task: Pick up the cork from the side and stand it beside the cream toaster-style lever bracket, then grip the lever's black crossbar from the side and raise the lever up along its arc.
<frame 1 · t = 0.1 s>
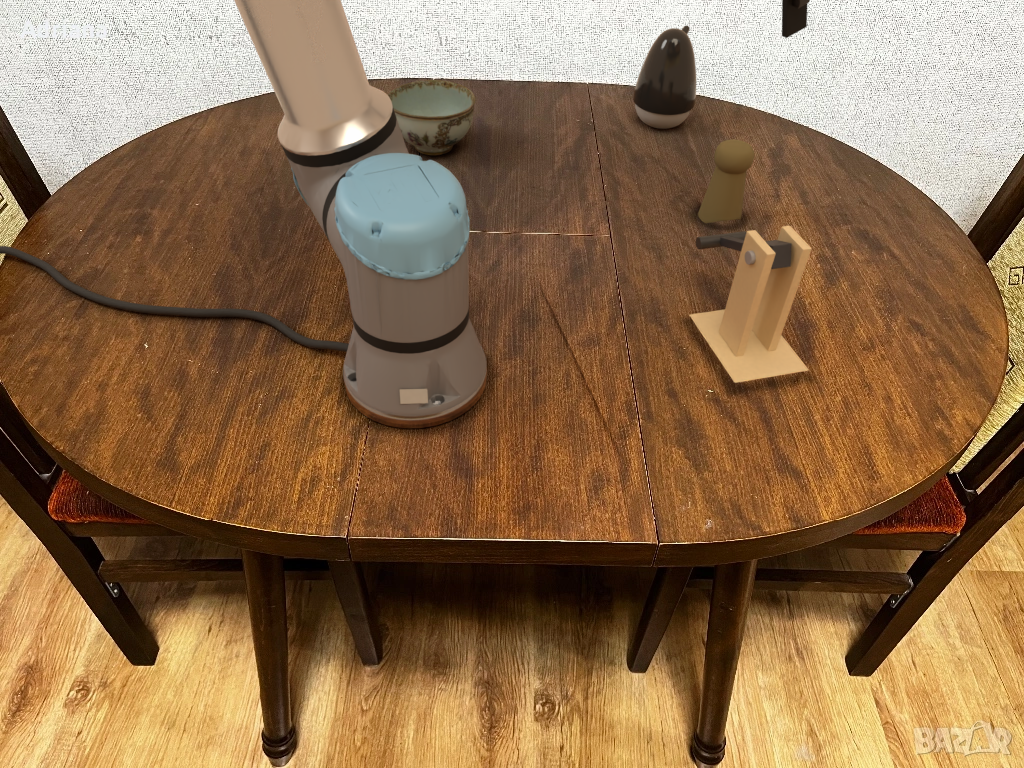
hand: (754, 12, 89), 28 cm above the table, tool tilted 20°, fingers open, 13 cm apart
lever: (748, 247, 84), point 11 cm above the table, hinge at -25.0°
cork: (719, 217, 109), on the table
bracket: (744, 349, 88), on the table
brown white egg shape: (660, 123, 130), on the table
bowl: (433, 147, 122), on the table
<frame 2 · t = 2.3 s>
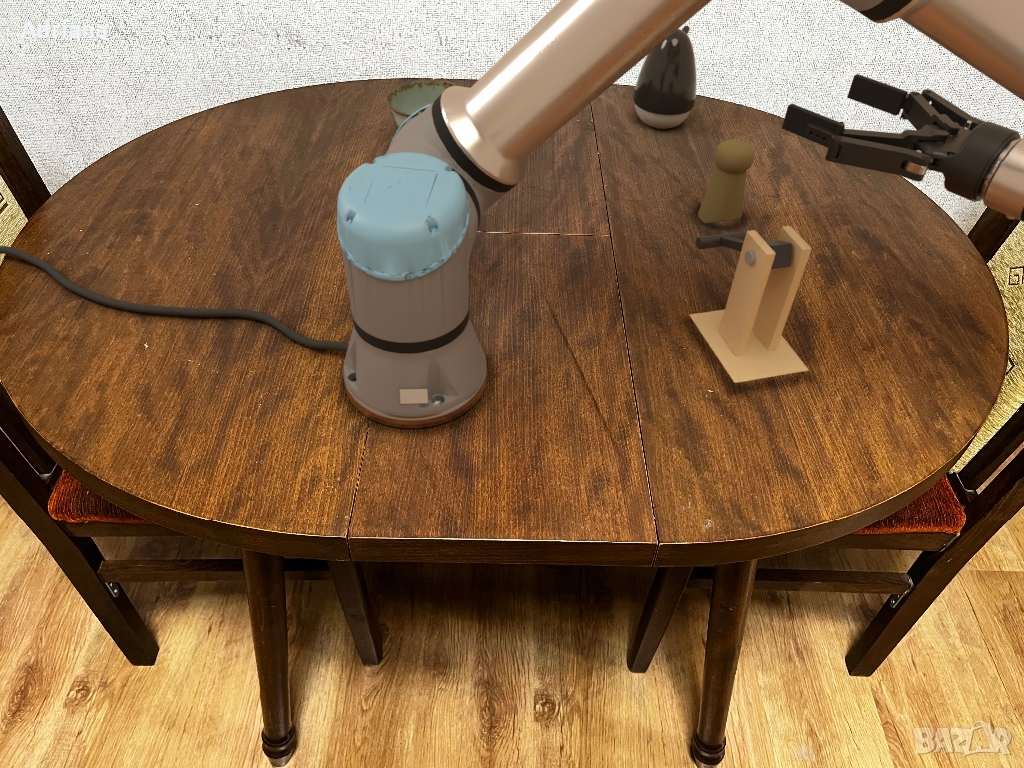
hand: (820, 100, 90), 20 cm above the table, tool horizontal, fingers open, 13 cm apart
nothing on the table moved.
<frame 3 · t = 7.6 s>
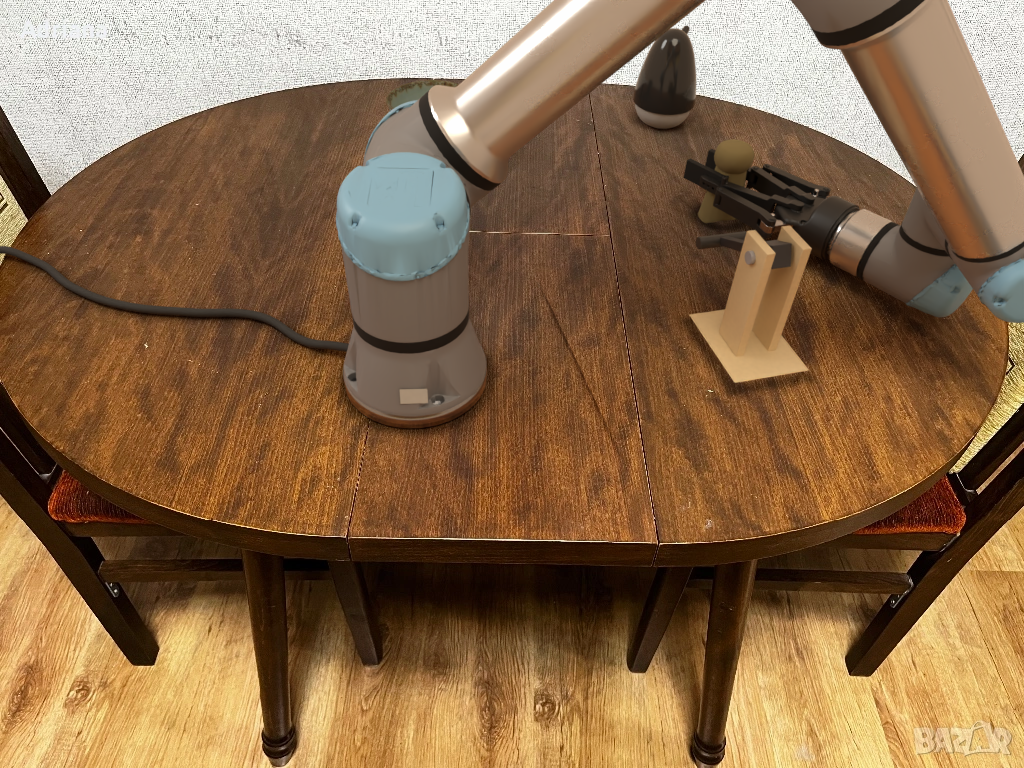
hand: (697, 163, 107), 6 cm above the table, tool horizontal, fingers closed on cork, 4 cm apart
cork: (719, 217, 109), on the table, touching gripper
everything else where it was.
when the fingers open (6 cm above the table, at t = 15.9 s): cork stays where it is, on the table.
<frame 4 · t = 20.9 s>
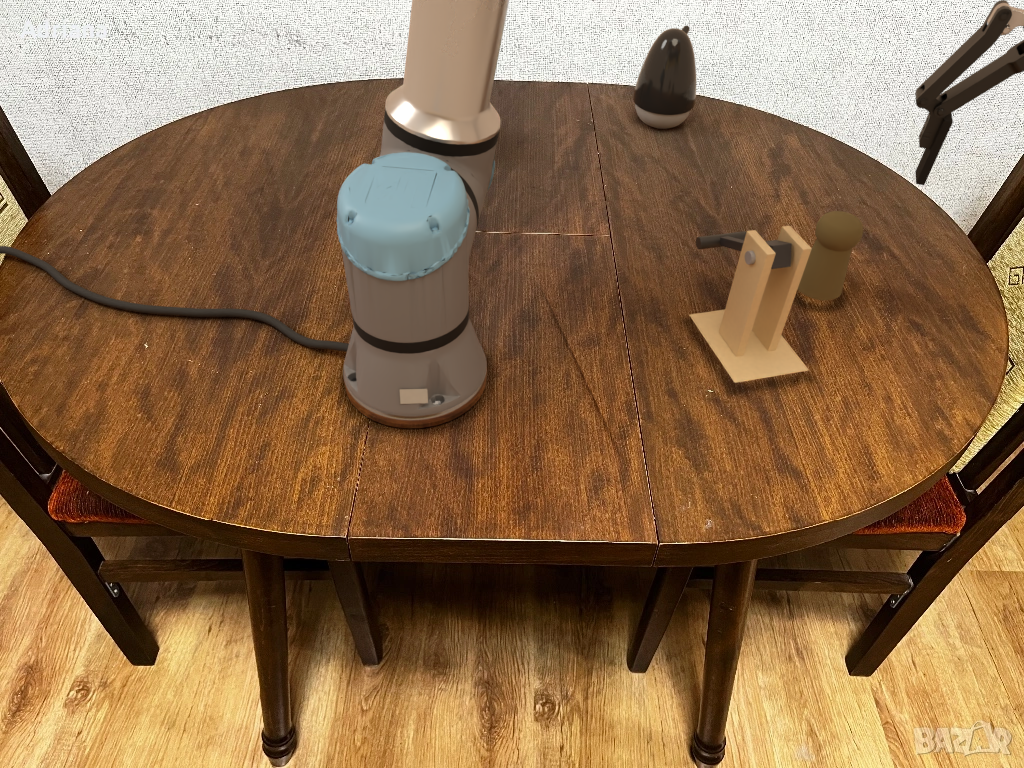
hand: (992, 192, 75), 20 cm above the table, tool pointing down, fingers open, 13 cm apart
cork: (814, 295, 96), on the table
everything else where it was.
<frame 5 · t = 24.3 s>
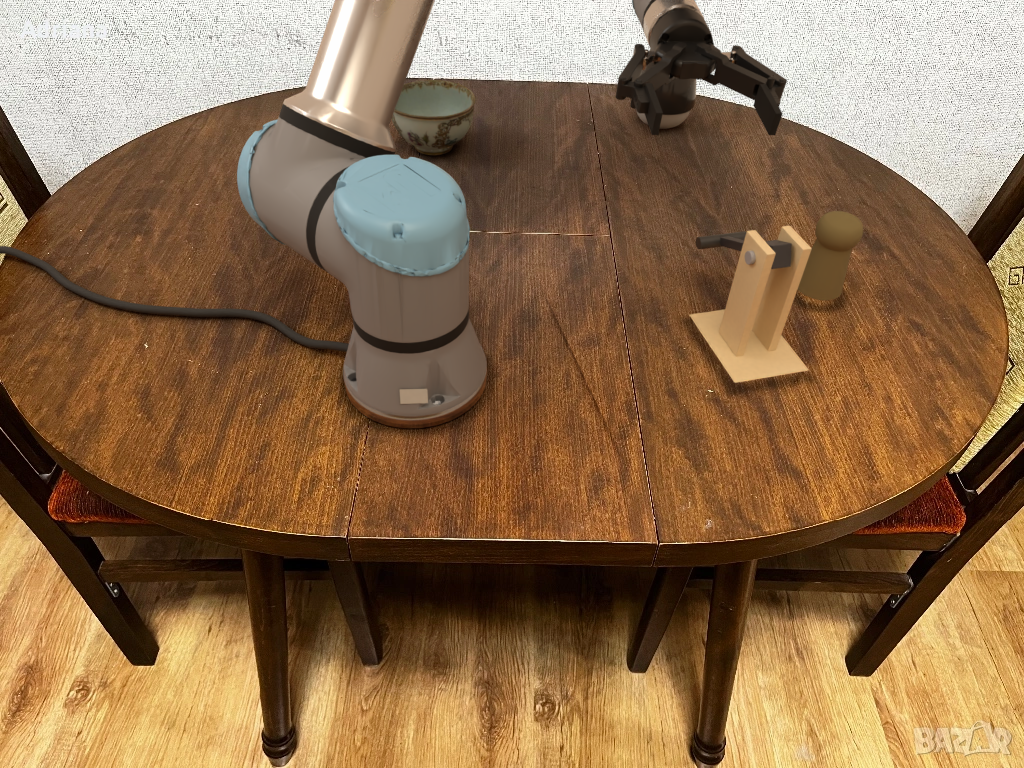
hand: (716, 124, 86), 20 cm above the table, tool horizontal, fingers open, 13 cm apart
nothing on the table moved.
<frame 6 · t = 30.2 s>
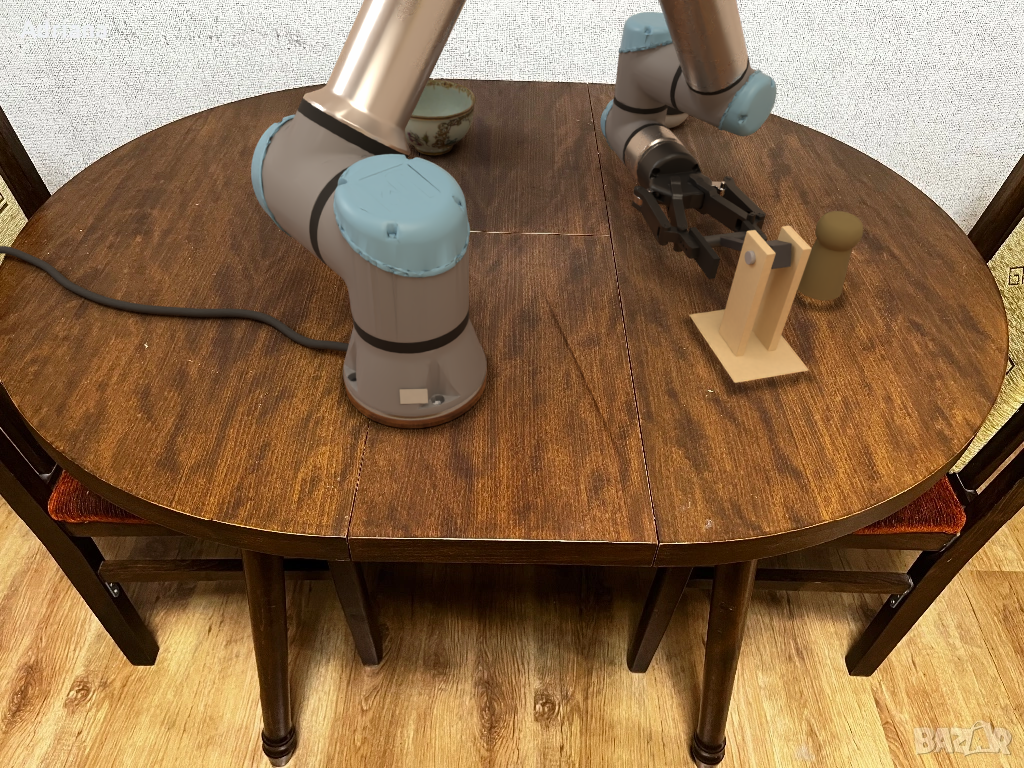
hand: (742, 265, 85), 8 cm above the table, tool horizontal, fingers closed on lever, 6 cm apart
lever: (748, 247, 84), point 11 cm above the table, hinge at -25.0°, touching gripper
everything else where it was.
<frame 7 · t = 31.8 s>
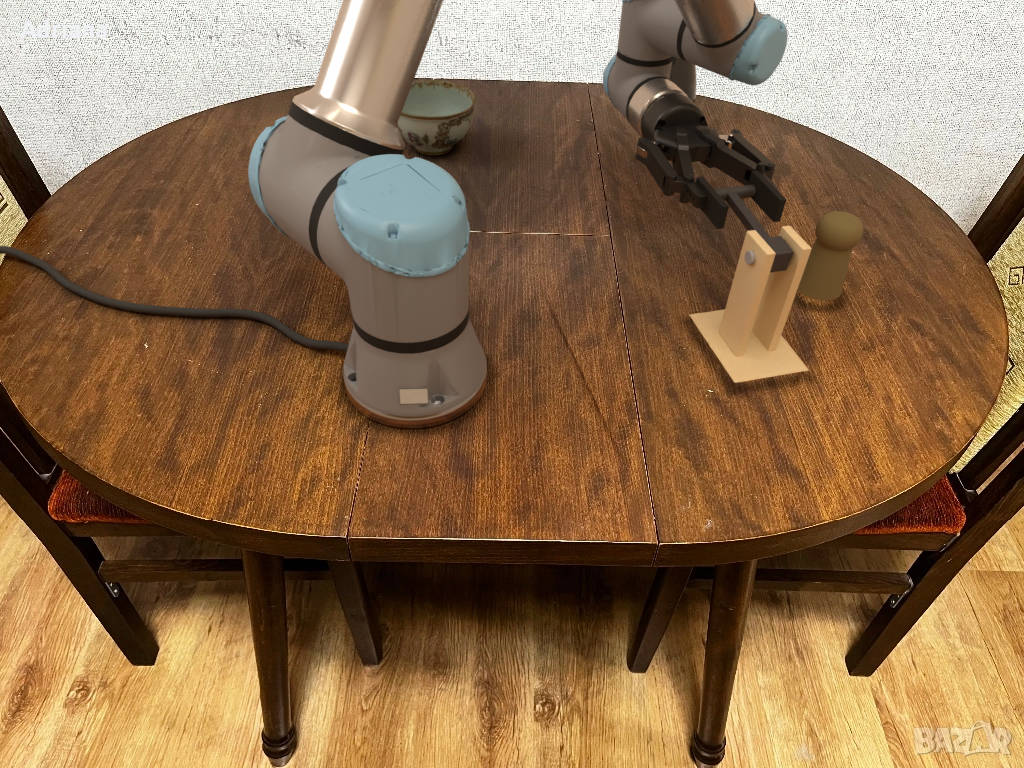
hand: (751, 214, 82), 14 cm above the table, tool horizontal, fingers closed on lever, 6 cm apart
lever: (751, 224, 82), point 13 cm above the table, hinge at 4.6°, touching gripper
everything else where it was.
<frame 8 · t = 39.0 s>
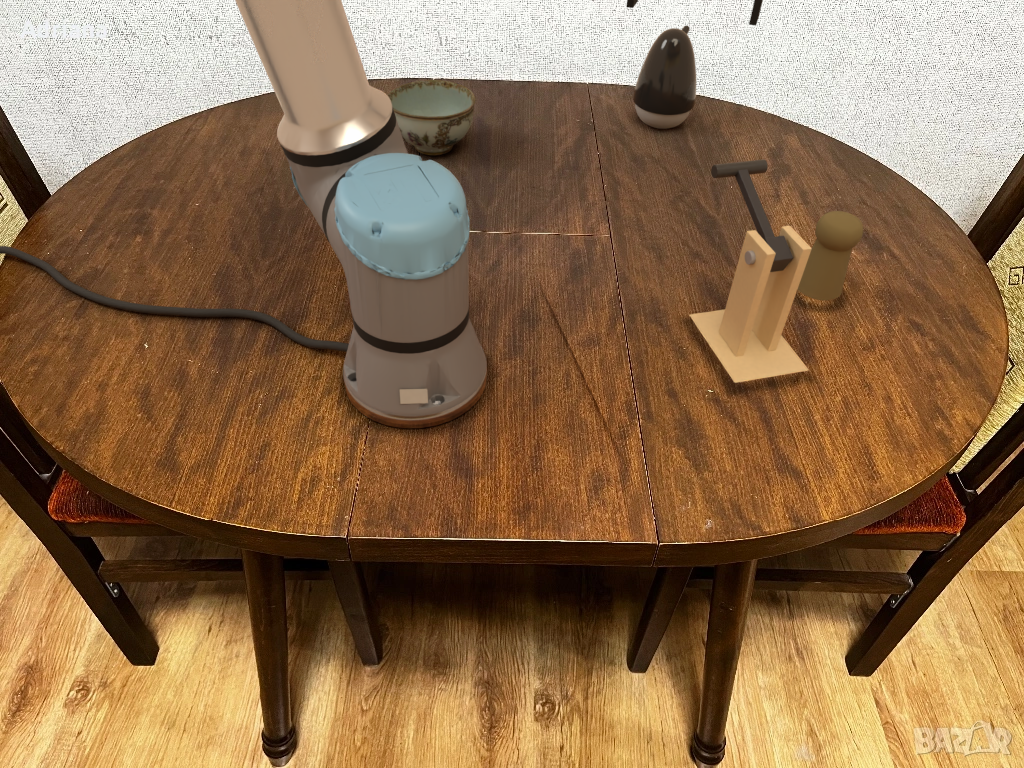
hand: (691, 12, 85), 29 cm above the table, tool pointing down, fingers open, 13 cm apart
lever: (757, 213, 81), point 15 cm above the table, hinge at 23.4°
everything else where it was.
at the end: lever at +23° (first picture: -25°); cork inside the target area on the table beside the bracket (0.1 cm from its centre), on the table; cork tilted 0° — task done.
